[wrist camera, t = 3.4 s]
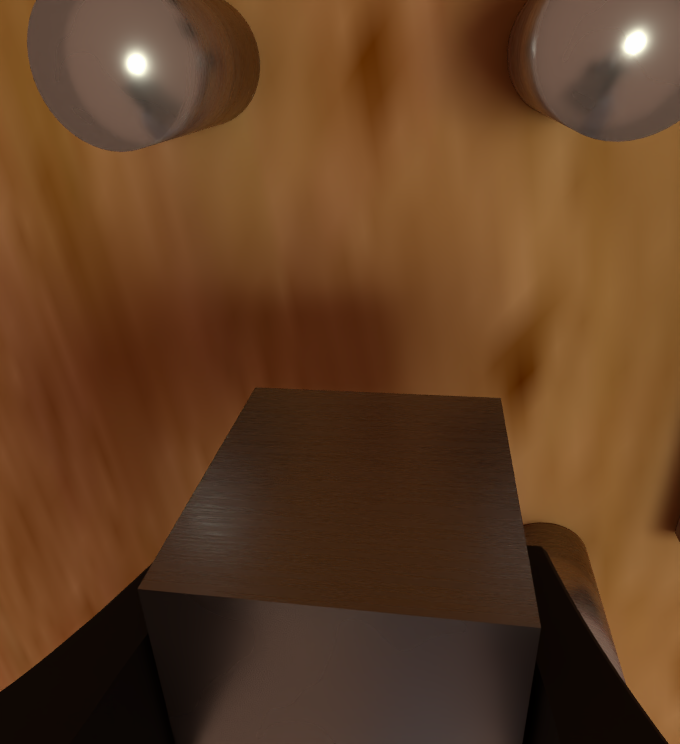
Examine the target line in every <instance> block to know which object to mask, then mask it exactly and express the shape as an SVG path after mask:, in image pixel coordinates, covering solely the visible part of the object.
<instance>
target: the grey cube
mask: <svg viewBox="0 0 680 744" xmlns="http://www.w3.org/2000/svg"><path fill="white" fill-rule="evenodd" d="M138 593H139V597H140V601H141V606H142V610H143V614H144V618H145V622H146V626H147V630H148V634H149V638H150V642H151V646H152V650H153V655H154V659H155V663H156V667H157V671H158V675H159V679H160V683H161V687H162V691H163V695H164V699H165V704H166V708H167V712H168V716H169V720H170V724H171V728H172V732H173V736H174V740H175V744H522V743H523V736H524V730H525V724H526V718H527V712H528V706H529V699H530V693H531V687H532V681H533V675H534V669H535V662H536V656H537V650H538V644H539V638H540V631H541V625H540V619H539V613H538V608H537V602H536V596H535V591H534V585H533V579H532V574H531V568H530V562H529V557H528V551H527V545H526V539H525V534H524V528H523V522H522V517H521V511H520V505H519V500H518V494H517V488H516V483H515V477H514V471H513V466H512V460H511V454H510V449H509V443H508V437H507V432H506V426H505V420H504V414H503V409H502V403H501V398H486V397H463V396H439V395H416V394H393V393H370V392H346V391H323V390H300V389H276V388H255V389H254V391H253V393H252V394H251V396H250V398H249V399H248V401H247V403H246V405H245V406H244V408H243V410H242V411H241V413H240V415H239V416H238V418H237V420H236V422H235V423H234V425H233V427H232V428H231V430H230V432H229V434H228V435H227V437H226V439H225V440H224V442H223V444H222V445H221V447H220V449H219V451H218V452H217V454H216V456H215V457H214V459H213V461H212V463H211V464H210V466H209V468H208V469H207V471H206V473H205V474H204V476H203V478H202V480H201V481H200V483H199V485H198V486H197V488H196V490H195V492H194V493H193V495H192V497H191V498H190V500H189V502H188V503H187V505H186V507H185V509H184V510H183V512H182V514H181V515H180V517H179V519H178V521H177V522H176V524H175V526H174V527H173V529H172V531H171V532H170V534H169V536H168V538H167V539H166V541H165V543H164V544H163V546H162V548H161V550H160V551H159V553H158V555H157V556H156V558H155V560H154V561H153V563H152V565H151V567H150V568H149V570H148V572H147V573H146V575H145V577H144V579H143V580H142V582H141V584H140V585H139V587H138Z"/></svg>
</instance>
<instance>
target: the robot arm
mask: <svg viewBox="0 0 680 744" xmlns="http://www.w3.org/2000/svg"><path fill="white" fill-rule="evenodd" d="M527 551H528V557H529V562H530V568H531V574H532V579H533V585H534V591H535V596H536V602H537V608H538V613H539V619H540V625H541V631H540V638H539V644H538V650H537V656H536V662H535V669H534V675H533V681H532V687H531V693H530V699H529V706H528V712H527V718H526V724H525V730H524V736H523V743H522V744H668V742H667V741H666V740H665V738H664V737H663V736H662V734H661V733H660V732H659V730H658V729H657V728H656V726H655V725H654V723H653V722H652V721H651V719H650V718H649V716H648V715H647V714H646V712H645V711H644V709H643V708H642V707H641V705H640V704H639V703H638V701H637V700H636V698H635V697H634V696H633V694H632V693H631V691H630V690H629V688H628V687H627V685H626V684H625V682H624V681H623V680H622V678H621V677H620V675H619V674H618V672H617V671H616V669H615V667H614V666H613V664H612V663H611V661H610V660H609V658H608V657H607V655H606V654H605V652H604V651H603V649H602V647H601V646H600V644H599V643H598V641H597V640H596V638H595V637H594V635H593V633H592V632H591V630H590V629H589V627H588V625H587V624H586V622H585V620H584V619H583V617H582V615H581V614H580V612H579V610H578V609H577V607H576V605H575V603H574V602H573V600H572V598H571V597H570V595H569V593H568V591H567V589H566V588H565V586H564V584H563V582H562V580H561V578H560V577H559V575H558V573H557V571H556V569H555V567H554V565H553V563H552V561H551V559H550V557H549V555H548V553H547V552H546V551H545V550H544V549H543V548H542V547H541V546H530V545H527ZM151 565H152V564H151ZM151 565H150V566H149V567H148V568H147V569H145V570H144V571H143V572H142V573H141V574H140V575H139V576H138V577H137V578H136V579H135V580H134V581H133V582H132V583H130V584H129V585H128V586H127V587H126V588H125V589H124V590H123V591H122V592H121V593H120V594H118V595H117V596H116V597H115V598H114V599H113V600H112V601H111V602H110V603H109V604H108V605H106V606H105V607H104V608H103V609H102V610H101V611H100V612H99V613H98V614H96V615H95V616H94V617H93V618H92V619H91V620H89V621H88V622H87V623H86V624H85V625H84V626H82V627H81V628H80V629H79V630H78V631H76V632H75V633H74V634H73V635H72V636H71V637H69V638H68V639H67V640H66V641H65V642H63V643H62V644H61V645H60V646H59V647H57V648H56V649H55V650H54V651H53V652H52V653H50V654H49V655H48V656H47V657H45V658H44V659H43V660H42V661H40V662H39V663H38V664H37V665H35V666H34V667H33V668H31V669H30V670H29V671H28V672H26V673H25V674H24V675H22V676H21V677H20V678H19V679H17V680H16V681H15V682H13V683H12V684H11V685H9V686H8V687H6V688H5V689H4V690H2V691H1V692H0V744H175V740H174V736H173V732H172V728H171V724H170V720H169V716H168V712H167V708H166V704H165V699H164V695H163V691H162V687H161V683H160V679H159V675H158V671H157V667H156V663H155V659H154V655H153V650H152V646H151V642H150V638H149V634H148V630H147V626H146V622H145V618H144V614H143V610H142V606H141V601H140V597H139V593H138V587H139V585H140V584H141V582H142V580H143V579H144V577H145V575H146V573H147V572H148V570H149V568H150V567H151Z"/></svg>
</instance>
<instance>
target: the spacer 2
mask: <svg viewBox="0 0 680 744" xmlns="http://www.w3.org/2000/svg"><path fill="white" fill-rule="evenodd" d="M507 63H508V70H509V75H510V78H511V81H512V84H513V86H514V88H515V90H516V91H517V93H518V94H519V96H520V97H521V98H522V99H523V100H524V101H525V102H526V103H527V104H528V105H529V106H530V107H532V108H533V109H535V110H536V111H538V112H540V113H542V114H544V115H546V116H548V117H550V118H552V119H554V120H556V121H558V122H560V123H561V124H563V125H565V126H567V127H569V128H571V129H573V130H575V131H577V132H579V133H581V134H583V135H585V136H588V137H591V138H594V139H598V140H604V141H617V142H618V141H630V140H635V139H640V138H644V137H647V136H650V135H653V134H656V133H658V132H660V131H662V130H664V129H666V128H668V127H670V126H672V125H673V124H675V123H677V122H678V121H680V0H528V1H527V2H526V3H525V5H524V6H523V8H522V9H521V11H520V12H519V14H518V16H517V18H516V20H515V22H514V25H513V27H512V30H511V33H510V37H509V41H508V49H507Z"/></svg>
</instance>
